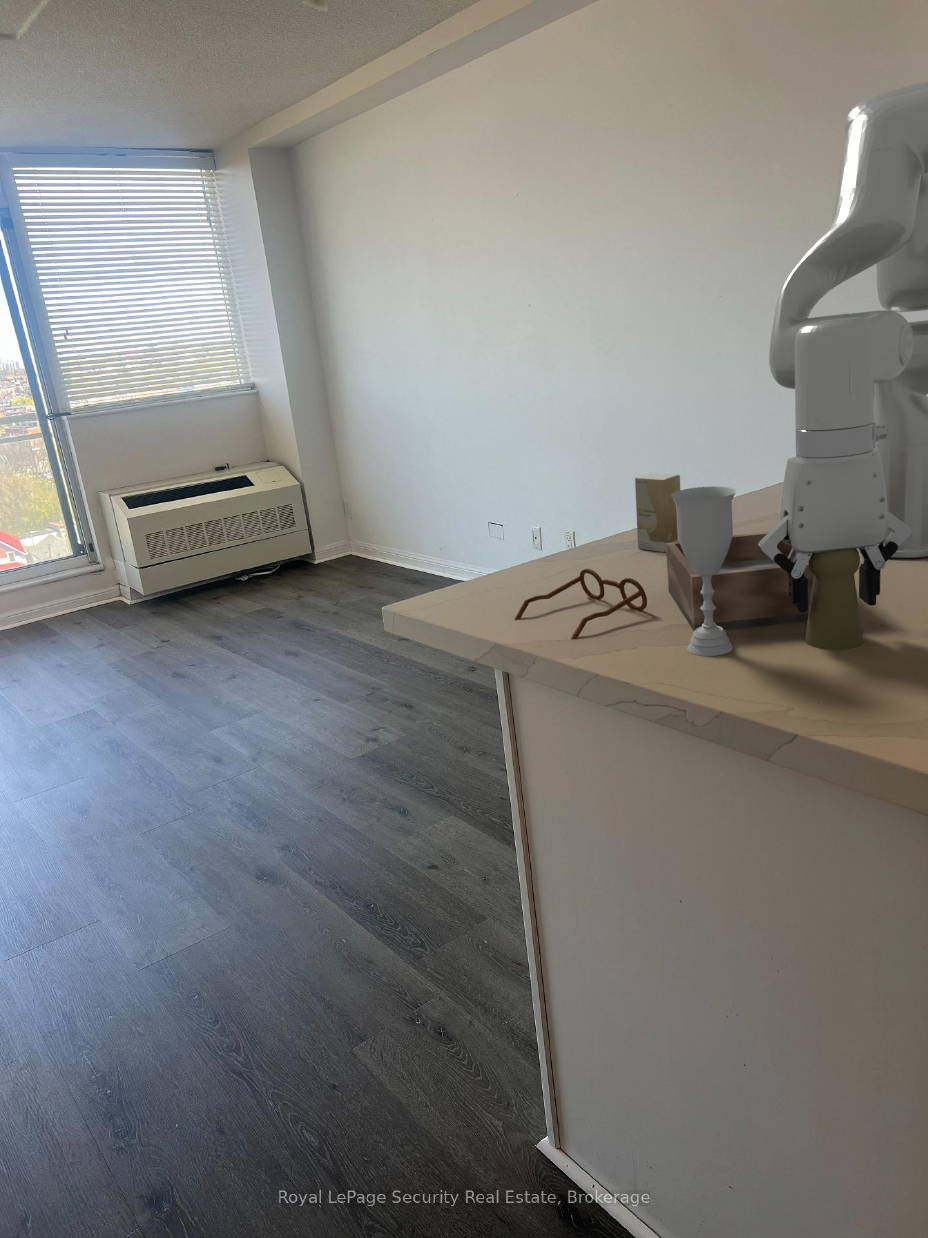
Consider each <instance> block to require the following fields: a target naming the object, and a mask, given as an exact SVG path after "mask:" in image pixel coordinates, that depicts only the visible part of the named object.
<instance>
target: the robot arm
mask: <svg viewBox="0 0 928 1238" xmlns="http://www.w3.org/2000/svg"><path fill="white" fill-rule="evenodd" d="M844 129H845V131H844V132H845V140H844V141H845V142H844V147H843V152H842V153H843V154H842V159H841V165H840V171H839V178H838V183H837V189H836V195H835V196H836V197H835V200H834V201H835V202H834V206H833V214H832V221H831V224H830V225H831V226H830V228H829V229H828V230H827V232H826V233H825V234H823V235H822V237H820V238H819V239H818V240H817V241H816V242H815V243H814V244H813V245H812V246H811V247H810V248H809V249H808V250H807V252H806V253H805V254H804V255H803V257H802V258H801V259H800V260H799V261H798V262H797V264H796V265H795V266H794V268H793V269H792V271H791V272H790V273H789V275H788V276H787V278H786V279H785V281H784V284H783V285H782V287H781V290H780V291H779V296H778V298H777V302H776V307H775V313H774V317H773V318H774V319H773V323H772V329H771V334H770V341H769V354H768V360H769V361H768V362H769V369H770V373H771V375H772V377H773V380H775V382H776V383H777V384H778V385H779V386H781V387H784V388H786V389H789V390H790V389H791V390H794V397H795V398H794V400H795V401H794V407H795V408H794V409H795V410H794V411H795V413H794V415H795V419H794V420H795V422H794V423H795V457H790V458H788V459H787V462H786V466H785V471H784V477H783V483H782V484H783V486H782V491H781V492H782V495H781V504H780V505H781V506H780V520H779V522H777V523H776V525H774V526H773V527H772V528H771V530H770V531H768V532H769V533H768V534H767V535H766V536H765V537H764V538H763V539H762V540H761V541H760V542H759V543H758V547H759V548H760V549H761V550H762V551H763V552H764V553H765V554H766V555H767V556H768V557H770V558H771V559H772V560H773V561H774V562H775V563H776V564H777V565H779V566H780V567H781V568H782V569H784V570H785V571H786V572H787V573H788V596H789V601H790V603H791V604H793V605H794V607H795V608H796V609H797V610H798V611H800V612H801V613H804V612H806V611H808V579H807V578H806V577H805V576H804V570H805V568H806V565H807V563H808V561H809V559H810V557H811V555H812V553H820V552H829V551H836V550H846V549H857V550H859V551H858V552H859V553H860V554H861V556H862V558H863V560H862V562H863V563H860V565H859V568H858V597H859V599H860V601H861V600H862V601H863V602H864V603H865V604H867V605H869V606H872V607H873V606H876V605H877V596H879V595H880V594H881V570H882V569H884V568H885V566H886V564H887V563H886V562H888V561H889V559H890V558H893V559H895V558H896V559H913V558H915V559H916V558H926V557H928V319H925V320H918V321H910V322H909V321H908V320H907V318H905V317H904V316H903V315H902V314H901V313H909V312H910V313H912V312H923V311H928V80H926V81H922V82H917V83H913V84H909V85H908V84H907V85H905V86H901V87H897V88H893V89H891V90H887V91H884V92H880V93H878V94H875V95H872V96H870V97H867V98H865V99H863V100H862V101H860V102H859V103H857V104H856V105H855V106H854V107H852V109H851V110H850V111H849V113H848V114H847V116H846V120H845V128H844ZM874 265H876V291H877V297H878V300H879V303H880V305H881V307H882V308H883V309H885V310H872V311H862V312H854V313H853V312H852V313H840V314H832V315H826V316H825V315H824V316H823V315H822V316H816V317H809V316H810V315H811V312H813V309H814V308H815V306H816V305H817V304H818V303H819V301H820V300H821V299H822V298H823V297H824V296H825V295H827V294H828V293H829V292H831V291H832V290H833V289H835V288H836V287H838V286H839V285H841V284H843V283H844V282H845V281H846V282H847V280H849V279H851V278H853V277H854V276H856V275H859V274H860V273H862V272H864V271H865V270H868V269H870V268H871V267H873V266H874ZM781 540H782V542H783V543H785V544H787V545H791V546H792V550H791V552H790V554H789V556H788V558H787V557H786V556H785V555H783V554H782V553H781V552H780V551H779V550H778V549H777V544H778V543H779V542H780V541H781Z"/></svg>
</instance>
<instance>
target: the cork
mask: <svg viewBox="0 0 928 1238" xmlns="http://www.w3.org/2000/svg"><path fill="white" fill-rule="evenodd" d="M858 550H859V549H858V548H857V549H846V550H836V551H829V552H820V553H812V555H811V557H810V559H809V568H810V571H811V572H812V573H813V574H814V578H813V586H812V593H811V600H810V607H809V615H808V621H806V622H807V624H806V628H805V629H806V630H805V637H804V640H805V641H804V642H805V643H806V644H807V645H809V646H810V647H813V648H817V649H822V650H835V651H836V650H838V651H840V650H847V649H852V648H856V647H858V646H860V645H862V644H863V642H864V638H863V631H862V630H863V629H862V625H861V617H860V609H859V601H858V595H857V587H856V579H855V574H856V573H857V571H859V566H861V563H860V562H861V556H860V554H859V553H860V551H858Z"/></svg>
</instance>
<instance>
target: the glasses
mask: <svg viewBox="0 0 928 1238" xmlns="http://www.w3.org/2000/svg"><path fill="white" fill-rule="evenodd" d="M585 574H589V575H590V576H592V577H593V578H594V579H595V580H596V581H597V583H598V585H599V595H598V594H597V595H596V594H594V593H592V592H591V591H590V590H589V589H588V587H587V584H586V581H585V576H586V575H585ZM578 583H580V585H581V588H582V590H583V591H584V593H585V594H586V595H587V596H588V597H589V598H590V599H592V600H597V601H599V600H602V599H603V598H604V597H605V586H604V585H607V586H611V587H615V588H617V589H618V590H619V591H620V595H621V597H622V599H623V600H621V601H619V602H618V603H617V604H615V605H613V606H611V607H609V608H608V609H606V610H603V611H598V612H593V613H591V614H590V615H587V616H585V617H583V618H582V619H581V620H580V622H579V624H578V626H577V627H576V629H575V630H574V633H572V636H571V637H570V639H571V640H575V639H578V638H579V636H580V634H581V633H582V631H583V629H584V628H585V627H586V625H587V623H588V622H590V621H592V620H594V619H597V618H602V617H608V616H610V615H611V614H613V613H614V612H616V611H619V610H620V609H621V608H623V607H625V606H627V607H628V608H629V609H632V610H634V611H637V610H638V612H641V611H644V610H645V609H646V608H647V607H648V597H647V594H646V592H645V589H644V587H643V586H642V585H641V583H640V582H638V581H637V580H635V579H633V578H631V577H626V578H624V579H622V580H620V582H619V583H618V582H617V581H614V580H611V579H606V578H605V579H602V577H601V576H600V575H599V574H598V573H597V572H596V571H594V570H593V569H590V568H585V569H583V570H581V571H580V572H579V576H577V577H575V578H573V579H571V580H570V581H568V582H566V583H564V584H563V585H560V586H559V587H557V588H556V589H554V590H552V591H550V592H549V593H547V594H541V595H540V594H538V595H534V596H532V597H530V598H528V599H527V598H526V599H525V600H524V601H523V603H522V604H521V607H520V609H518V612H517V613H516V615H515V617H514V619H513V620H514V621H518V620H521V618H522V617H523V615H524V613H525V612H526V611H527V610H526V609H528V608H527V607H528V606H529V604H531V603H533V602H536V601H539V600H550V599H551V598H553V597H555V596H557V595H558V594H560V593H562V592H563V591H565V590H567V589H569V588H570V587H572V586H575V585H576V584H578ZM626 584H631V585H633V586H634V587H635V588H636V589H637V591H636V592H635V593H633V594H631V595H630V596H628V597H627V594H626V591H625V585H626ZM640 597H641V602H642V603H641V605H640V606H638V605H636V604H634V603H632V602H633V601H634V600H636V599H638V598H640Z"/></svg>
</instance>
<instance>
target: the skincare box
mask: <svg viewBox="0 0 928 1238" xmlns="http://www.w3.org/2000/svg"><path fill="white" fill-rule="evenodd" d="M634 481H635V482H634V484H635V486H634V487H635V508H636V511H635V513H636V533H637V534H636V535H637V549H640V550H649V551H655V552H662V553H666V543H671V542H679V540H678V531H677V513H676V504H675V502H674V500H673V498H672V497H671V495H672V493H674V492H677V491H680V490H681V475H680V474H670V473H669V474H668V473H656V472H655V473H654V472H653V473H652V472H650V473H646V474H643V475H640V476H636V477H634Z"/></svg>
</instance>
